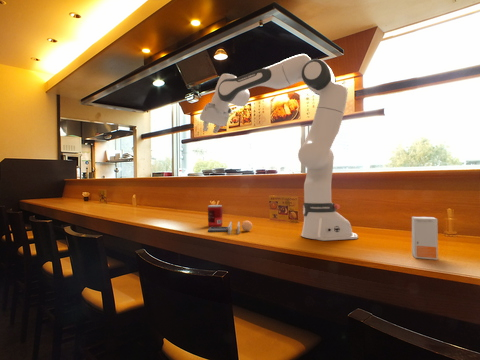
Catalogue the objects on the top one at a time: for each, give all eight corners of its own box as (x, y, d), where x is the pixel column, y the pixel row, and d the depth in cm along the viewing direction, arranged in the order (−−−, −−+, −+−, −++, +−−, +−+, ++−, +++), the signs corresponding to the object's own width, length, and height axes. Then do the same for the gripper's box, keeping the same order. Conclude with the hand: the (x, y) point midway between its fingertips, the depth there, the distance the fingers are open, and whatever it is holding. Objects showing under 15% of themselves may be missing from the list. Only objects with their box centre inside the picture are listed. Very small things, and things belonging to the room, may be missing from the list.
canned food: (223, 224, 161) (223, 204, 161) (221, 227, 153) (220, 206, 153) (209, 224, 162) (209, 204, 162) (206, 227, 154) (206, 206, 154)
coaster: (228, 228, 147) (228, 226, 147) (226, 231, 138) (226, 229, 138) (210, 229, 147) (210, 227, 147) (207, 232, 138) (207, 230, 138)
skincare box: (414, 258, 86) (413, 218, 86) (411, 255, 90) (411, 216, 90) (438, 260, 84) (437, 218, 84) (434, 256, 88) (434, 216, 88)
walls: (239, 228, 147) (239, 221, 147) (238, 234, 131) (238, 226, 131) (230, 228, 148) (230, 221, 148) (228, 234, 132) (228, 226, 132)
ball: (252, 230, 142) (251, 219, 142) (252, 231, 137) (252, 221, 137) (241, 230, 142) (241, 219, 142) (241, 232, 137) (241, 221, 137)
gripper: (212, 103, 137) (203, 131, 140) (233, 111, 155) (224, 136, 158) (202, 99, 139) (193, 127, 142) (223, 107, 158) (215, 132, 161)
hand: (209, 131), depth 150 cm, fingers open, 8 cm apart
